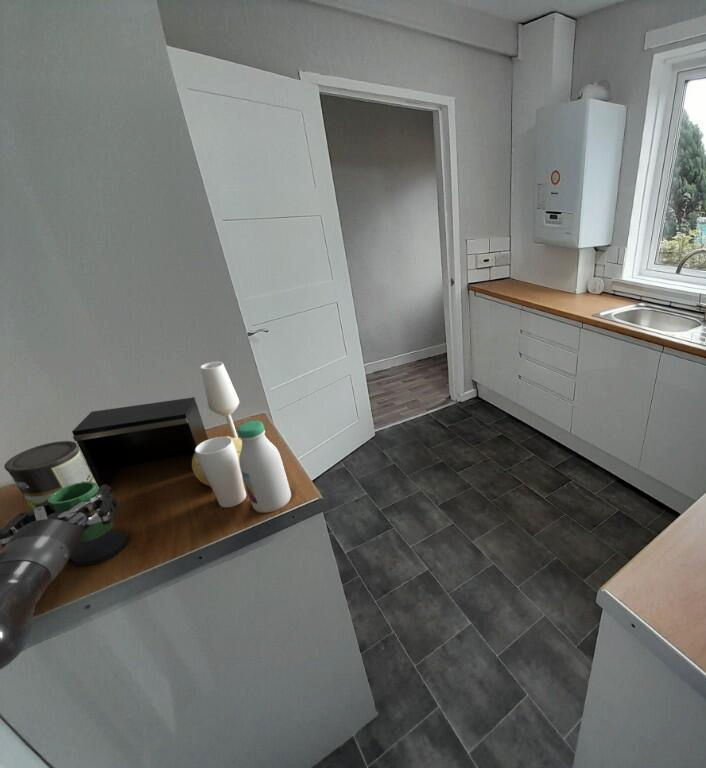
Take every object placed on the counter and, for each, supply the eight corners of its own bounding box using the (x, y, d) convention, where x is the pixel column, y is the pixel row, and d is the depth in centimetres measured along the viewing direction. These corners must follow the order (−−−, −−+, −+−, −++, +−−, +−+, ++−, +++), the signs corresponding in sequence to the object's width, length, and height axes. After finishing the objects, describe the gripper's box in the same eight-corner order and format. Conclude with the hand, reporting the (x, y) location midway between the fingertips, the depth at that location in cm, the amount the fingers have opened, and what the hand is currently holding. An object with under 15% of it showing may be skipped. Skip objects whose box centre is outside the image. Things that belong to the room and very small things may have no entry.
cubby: (99, 492, 94) (70, 432, 87) (116, 468, 102) (91, 411, 96) (204, 471, 102) (184, 415, 95) (211, 450, 110) (194, 397, 104)
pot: (62, 547, 73) (39, 507, 69) (77, 524, 78) (57, 486, 74) (107, 536, 75) (87, 497, 72) (119, 515, 80) (102, 478, 77)
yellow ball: (216, 500, 92) (202, 461, 88) (189, 482, 98) (174, 444, 93) (266, 473, 101) (255, 436, 97) (238, 458, 107) (227, 422, 102)
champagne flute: (256, 443, 114) (233, 363, 103) (231, 455, 108) (203, 372, 98) (243, 436, 117) (219, 358, 106) (218, 447, 111) (190, 366, 101)
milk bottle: (296, 488, 96) (276, 415, 87) (285, 511, 89) (263, 434, 80) (260, 492, 95) (237, 417, 86) (247, 515, 88) (220, 437, 79)
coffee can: (44, 533, 82) (9, 477, 76) (33, 512, 87) (-1, 457, 81) (111, 504, 90) (83, 451, 84) (97, 486, 95) (70, 435, 89)
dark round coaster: (64, 571, 74) (61, 567, 73) (83, 541, 80) (81, 537, 80) (120, 557, 77) (118, 553, 77) (134, 529, 84) (133, 525, 83)
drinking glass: (208, 506, 90) (186, 449, 84) (237, 487, 96) (218, 433, 90) (229, 514, 88) (208, 457, 82) (257, 495, 94) (240, 440, 87)
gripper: (86, 524, 63) (124, 467, 77) (-48, 554, 58) (20, 486, 72) (104, 560, 66) (138, 498, 80) (-21, 592, 61) (39, 520, 75)
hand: (82, 493), depth 76 cm, fingers closed on pot, 6 cm apart
